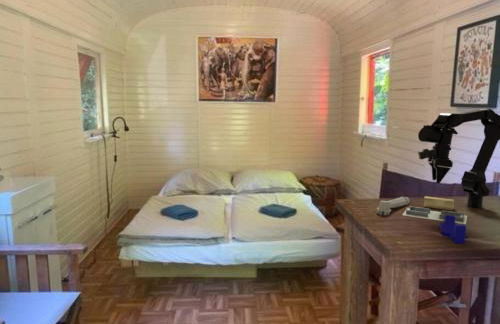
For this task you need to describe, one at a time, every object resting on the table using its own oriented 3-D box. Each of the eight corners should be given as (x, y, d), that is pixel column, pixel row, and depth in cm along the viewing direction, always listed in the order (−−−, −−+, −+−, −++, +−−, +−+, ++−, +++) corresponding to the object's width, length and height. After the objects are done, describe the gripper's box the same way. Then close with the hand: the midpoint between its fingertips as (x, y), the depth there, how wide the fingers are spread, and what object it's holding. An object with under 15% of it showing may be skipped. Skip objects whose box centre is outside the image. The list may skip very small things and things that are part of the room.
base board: (407, 209, 159) (407, 207, 159) (467, 218, 148) (467, 215, 147) (401, 217, 149) (402, 215, 149) (465, 226, 138) (465, 224, 137)
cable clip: (438, 230, 134) (439, 214, 133) (452, 231, 133) (453, 215, 132) (449, 243, 123) (450, 225, 122) (464, 244, 122) (465, 226, 121)
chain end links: (409, 209, 156) (409, 206, 156) (464, 216, 146) (464, 213, 146) (405, 213, 151) (406, 210, 150) (463, 221, 140) (463, 218, 140)
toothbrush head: (412, 197, 165) (388, 200, 147) (410, 212, 166) (386, 217, 148) (400, 195, 169) (375, 198, 151) (398, 210, 169) (373, 214, 151)
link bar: (424, 207, 163) (425, 196, 163) (452, 211, 158) (453, 199, 157) (423, 209, 161) (424, 197, 160) (452, 213, 155) (453, 201, 154)
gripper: (418, 140, 164) (412, 175, 166) (425, 142, 146) (417, 181, 148) (446, 144, 161) (439, 179, 163) (456, 146, 143) (448, 186, 145)
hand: (435, 181), depth 155 cm, fingers open, 9 cm apart
